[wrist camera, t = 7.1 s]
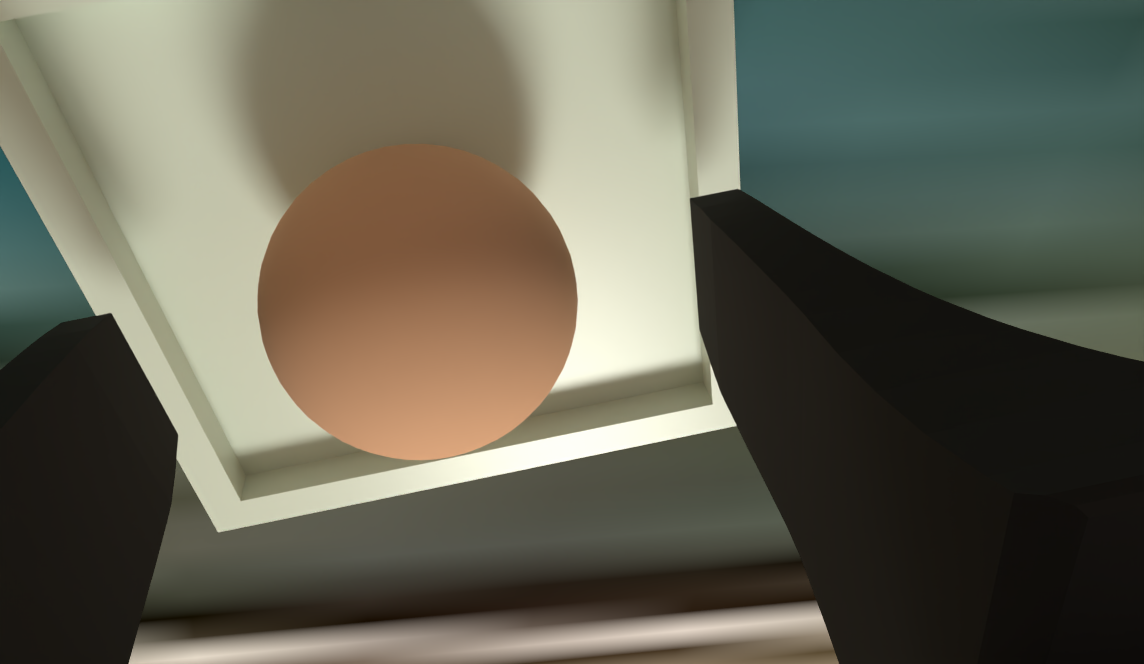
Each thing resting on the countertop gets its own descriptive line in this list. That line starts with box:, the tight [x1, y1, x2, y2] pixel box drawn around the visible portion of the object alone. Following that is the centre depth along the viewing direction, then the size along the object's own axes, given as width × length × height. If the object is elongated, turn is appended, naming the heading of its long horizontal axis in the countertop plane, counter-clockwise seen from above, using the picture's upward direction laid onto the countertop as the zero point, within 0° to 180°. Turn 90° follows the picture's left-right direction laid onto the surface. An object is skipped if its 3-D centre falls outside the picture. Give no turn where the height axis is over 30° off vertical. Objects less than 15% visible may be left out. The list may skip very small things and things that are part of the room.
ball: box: [257, 144, 578, 460], centre depth 12 cm, size 4×4×4 cm
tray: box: [0, 0, 740, 532], centre depth 13 cm, size 9×9×1 cm
